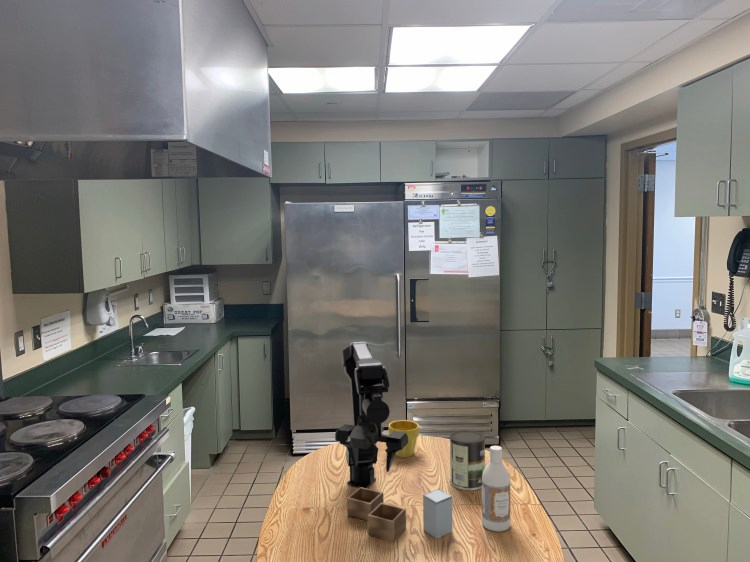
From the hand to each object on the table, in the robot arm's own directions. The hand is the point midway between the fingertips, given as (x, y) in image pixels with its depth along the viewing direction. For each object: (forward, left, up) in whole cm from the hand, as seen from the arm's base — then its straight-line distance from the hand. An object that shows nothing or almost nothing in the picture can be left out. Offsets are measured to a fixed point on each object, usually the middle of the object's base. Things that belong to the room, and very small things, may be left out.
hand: (371, 468), depth 139 cm
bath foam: (+31, +9, -12) cm, 34 cm away
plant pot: (-9, +39, -12) cm, 42 cm away
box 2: (+8, -6, -12) cm, 16 cm away
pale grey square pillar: (+19, 0, -12) cm, 22 cm away
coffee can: (+17, +28, -12) cm, 35 cm away
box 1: (-1, -1, -12) cm, 12 cm away
